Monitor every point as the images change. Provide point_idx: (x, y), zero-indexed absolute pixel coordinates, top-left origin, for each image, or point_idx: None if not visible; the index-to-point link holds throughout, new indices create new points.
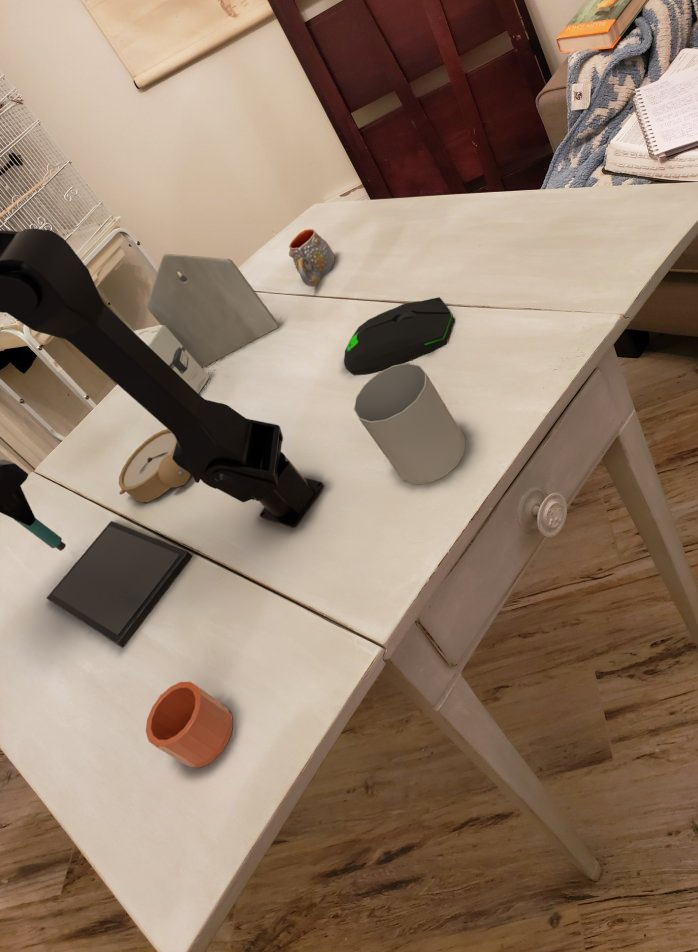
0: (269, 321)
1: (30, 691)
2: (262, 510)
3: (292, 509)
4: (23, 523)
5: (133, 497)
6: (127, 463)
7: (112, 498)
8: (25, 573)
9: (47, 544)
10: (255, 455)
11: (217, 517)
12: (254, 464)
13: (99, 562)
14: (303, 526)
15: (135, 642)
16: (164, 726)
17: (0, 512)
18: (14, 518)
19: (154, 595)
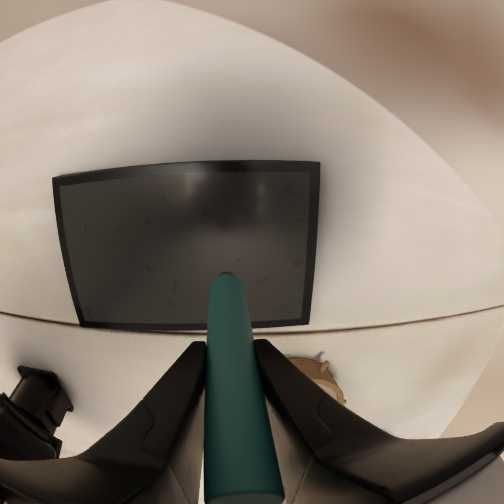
0: (284, 500)
1: (178, 40)
2: (56, 380)
3: (20, 382)
4: (184, 353)
5: (296, 364)
6: (338, 400)
7: (360, 341)
8: (432, 188)
9: (225, 281)
10: (43, 437)
11: (108, 369)
12: (31, 428)
13: (246, 262)
14: (16, 366)
15: (47, 192)
16: None
17: (115, 427)
18: (158, 381)
19: (63, 259)
